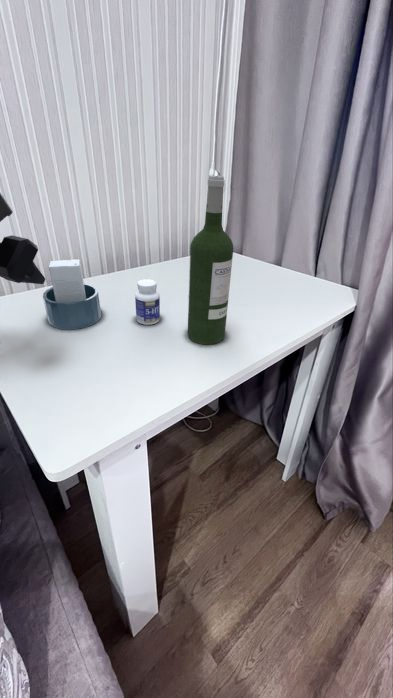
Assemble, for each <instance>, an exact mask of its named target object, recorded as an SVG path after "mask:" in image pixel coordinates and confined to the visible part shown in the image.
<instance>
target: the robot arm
mask: <svg viewBox="0 0 393 698" xmlns="http://www.w3.org/2000/svg"><path fill="white" fill-rule="evenodd" d="M13 212H14V210H13V209H12V208H11V206H10V205H9V203H8V202H7V200H6V199H5V197H4V196H3V194H2V193H1V192H0V223H1V222H2V221H3V220H4V219H6V218H7V217H10V216H12V214H13ZM38 252H39V247H38V245H37V244H35V242H33V241H31V240H30V239H29V238H26V237H22V236H16V235H12V234H11V235H8V236H3V238H2V240H1V241H0V278H2V279H4V280H6V281H9V282H12V283H16V284H20V283H23V284H35V285H44V283H45V282H46V277H45V275H44V274H43V273H42V272H41V271H40V269H39V268H38V266H37V265H36V263H35V261H34V260H35V258H36V256H37V254H38Z"/></svg>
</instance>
